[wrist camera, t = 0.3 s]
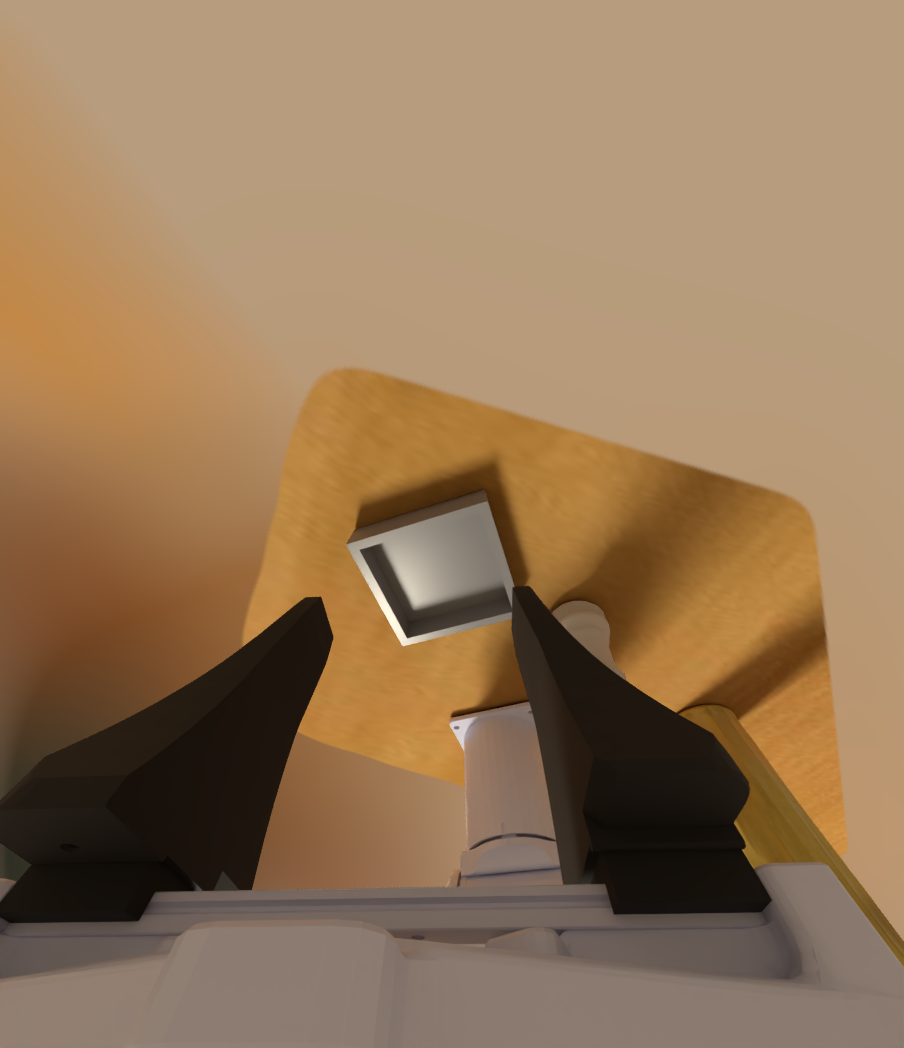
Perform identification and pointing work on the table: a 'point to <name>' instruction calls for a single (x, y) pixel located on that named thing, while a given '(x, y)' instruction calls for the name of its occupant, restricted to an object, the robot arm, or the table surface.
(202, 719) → the robot arm
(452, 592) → the tray
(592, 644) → the rook chess piece
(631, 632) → the table surface
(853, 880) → the vase
